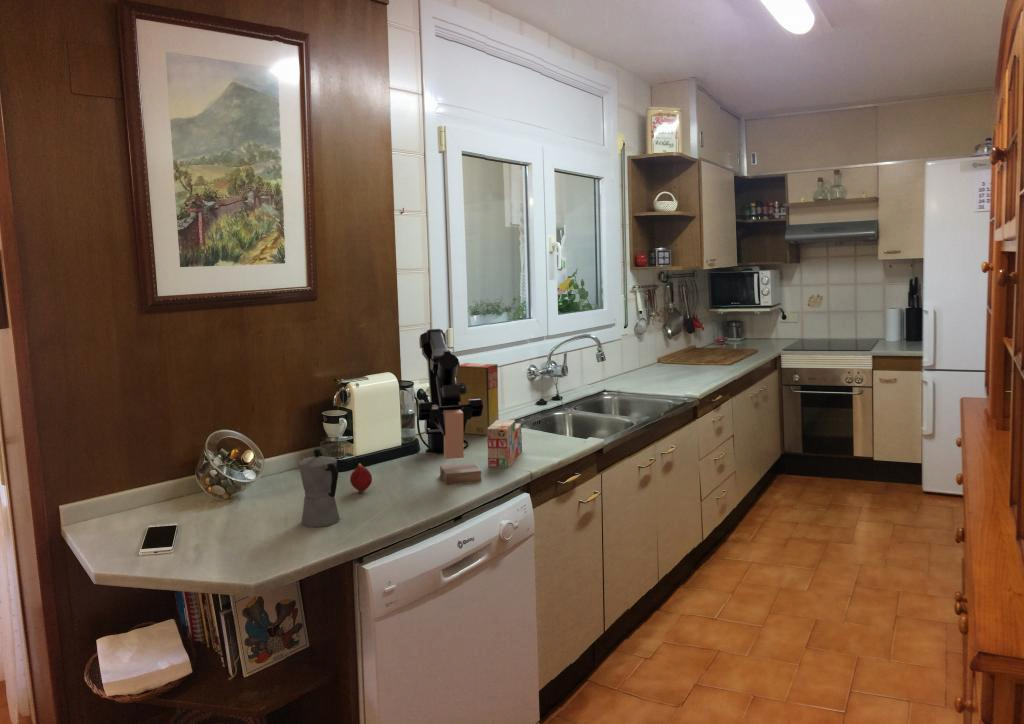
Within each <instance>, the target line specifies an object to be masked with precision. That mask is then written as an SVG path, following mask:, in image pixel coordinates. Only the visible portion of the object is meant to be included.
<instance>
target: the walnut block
mask: <svg viewBox="0 0 1024 724" xmlns="http://www.w3.org/2000/svg"><path fill="white" fill-rule="evenodd" d="M439 474H440V475H439V476H440V477H441V479H442V480H443V482H444V484H445V485H446V486H451V485H459V484H460V483H461V484H469V483H468V482H471V483H479V482H478V481H481V482H482V470H481V469H480V468H479V466H477V464H475V462H474V461H471V462H461V463H450V464H449V463H448V464H440V465H439Z"/></svg>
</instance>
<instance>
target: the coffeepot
mask: <svg viewBox="0 0 1024 724" xmlns="http://www.w3.org/2000/svg"><path fill="white" fill-rule="evenodd" d="M313 454H314V455H313V456H307V457H303V458H302V460H299V461H297V463H298V467H299V472H300V478H301V482H302V486H303V490H304V495H305V496H304V498H303V506H302V507H303V508H302V516H301V522H302V525H303V526H305V527H307V528H324V527H329V526H333V525H335V524H337V523H338V522H339V521H340V520H341V519H340V515H339V510H338V505H337V502H336V498H335V496H336V492H337V484H338V478H339V470H338V468H337V465H338V464H337V463H338V460H337V459H336V457H331V456H324V455H323V456H321V455H320V454H321V449H320V448H316V449H313Z"/></svg>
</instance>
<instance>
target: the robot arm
mask: <svg viewBox="0 0 1024 724" xmlns="http://www.w3.org/2000/svg"><path fill="white" fill-rule="evenodd" d="M419 335H420V336H419V349H421V354H422V356H423V357H424V358H425V360H426V362H427V374H428V384H429V385H428V386H429V387H428V388H429V400H430V401H425V402H419V403H418V405H417V420H418V421H419V422H420V421H422V422H423V421H424V428H423V429H424V433H425V434H426V435H427V447H428V448H426V449H425V452H428V453H436V454H442V453H443V454H444V436H445V427H444V413H443V410H461V411H462V412H463V435H465V434H464V432H465V426H466V423H467V420H468V419H471V417H479V416H481V415H482V410H483V401H482V400H481V399H469V401H468V404H467V405H459V402H460V401H461V398H460V396H461V395H462V394H466V384H465V382H464V383H459V385H456V376H457V370H458V366H460V365H461V364H460V361H459V358H458V356H456V355H454V354H453V351H451V350H449V349H447V338H446V337H447V336H446V333H445V332H444V330H443V329H441V328H430V329H427V330H426V332H424V333H422V334H419Z"/></svg>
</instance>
